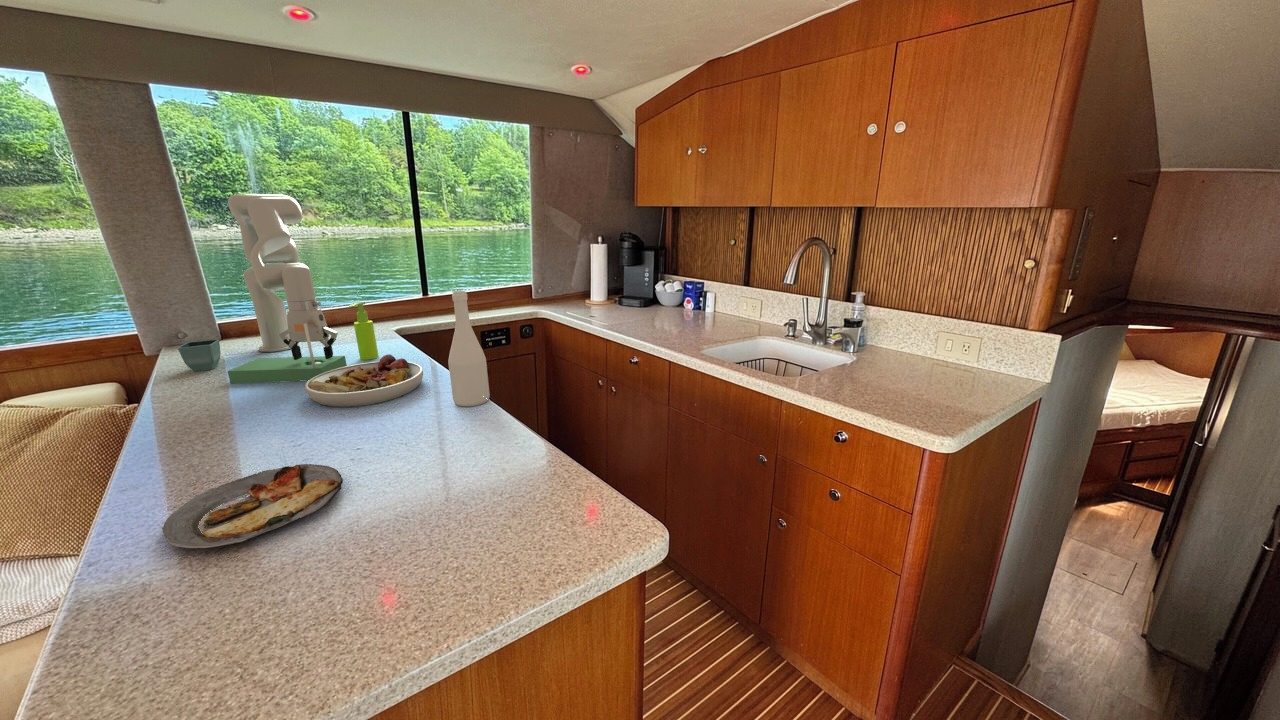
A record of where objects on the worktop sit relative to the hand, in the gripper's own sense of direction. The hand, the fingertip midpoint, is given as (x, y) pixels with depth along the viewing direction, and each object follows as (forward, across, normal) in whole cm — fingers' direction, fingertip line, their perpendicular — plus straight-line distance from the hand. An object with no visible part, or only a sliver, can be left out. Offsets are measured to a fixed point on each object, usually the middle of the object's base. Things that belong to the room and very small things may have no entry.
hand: (313, 358), depth 159 cm
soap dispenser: (+6, -8, -18) cm, 20 cm away
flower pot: (+6, +42, -10) cm, 44 cm away
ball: (+3, 0, 0) cm, 3 cm away
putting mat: (+5, +8, 0) cm, 10 cm away
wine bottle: (+6, -57, +30) cm, 65 cm away
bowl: (+6, -25, +18) cm, 31 cm away
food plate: (+6, -34, +79) cm, 86 cm away
